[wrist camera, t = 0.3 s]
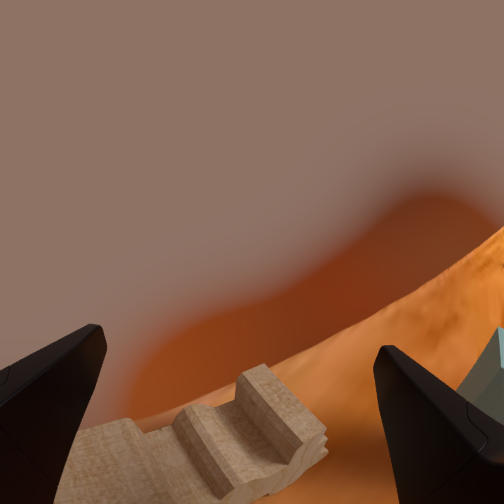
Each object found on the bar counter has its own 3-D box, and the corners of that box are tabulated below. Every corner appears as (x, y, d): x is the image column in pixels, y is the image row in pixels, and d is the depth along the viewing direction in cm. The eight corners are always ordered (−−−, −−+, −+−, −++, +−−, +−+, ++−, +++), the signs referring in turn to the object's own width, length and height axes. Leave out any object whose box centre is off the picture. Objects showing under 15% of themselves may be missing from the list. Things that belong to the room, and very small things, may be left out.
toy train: (318, 466, 18) (359, 403, 14) (123, 552, 10) (54, 533, 5) (278, 422, 22) (296, 346, 18) (95, 494, 14) (29, 439, 9)
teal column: (455, 471, 15) (546, 384, 9) (417, 459, 18) (500, 367, 12) (464, 434, 19) (538, 343, 13) (429, 422, 21) (497, 326, 15)
